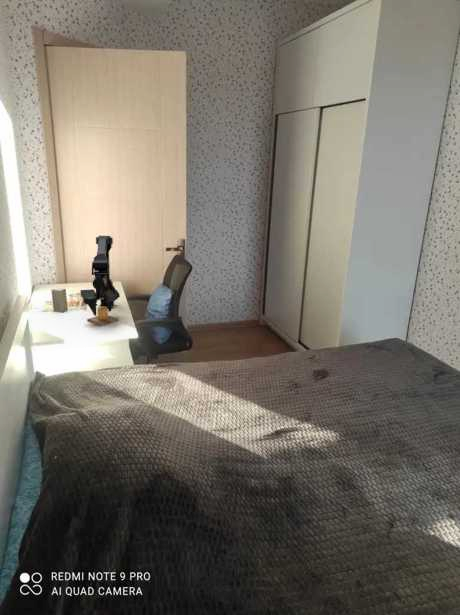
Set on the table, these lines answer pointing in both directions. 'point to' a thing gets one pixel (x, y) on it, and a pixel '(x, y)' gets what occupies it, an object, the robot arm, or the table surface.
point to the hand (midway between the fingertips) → (102, 313)
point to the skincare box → (59, 299)
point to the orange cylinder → (102, 313)
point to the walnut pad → (101, 323)
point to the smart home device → (87, 293)
